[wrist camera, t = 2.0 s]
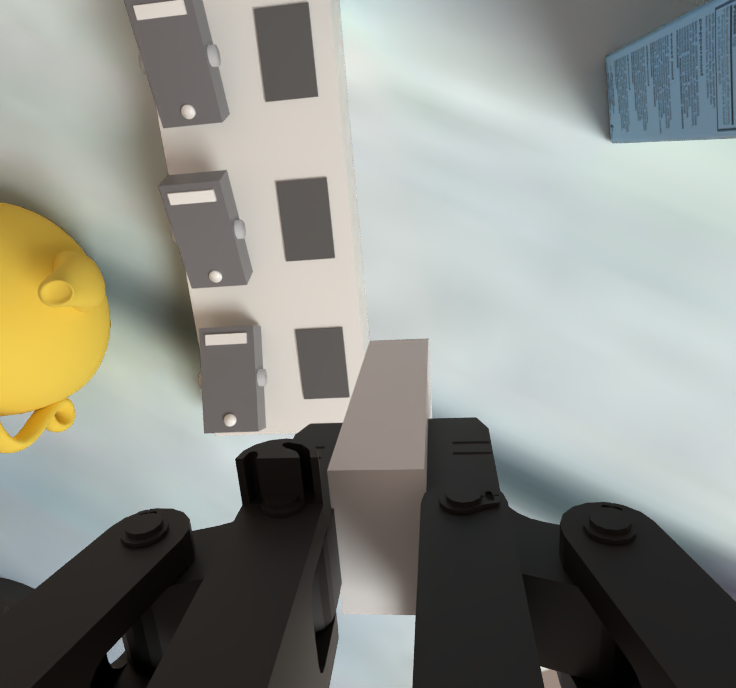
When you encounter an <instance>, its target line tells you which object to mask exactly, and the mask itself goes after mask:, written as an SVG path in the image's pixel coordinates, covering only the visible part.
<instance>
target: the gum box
mask: <svg viewBox="0 0 736 688" xmlns="http://www.w3.org/2000/svg"><path fill="white" fill-rule="evenodd" d="M605 59H606V72H607V86H608V100H609V117H610V135H611V142H612V143H635V142H657V141H683V140H708V139H731V138H736V0H709V1H708V2H706V3H704V4H702V5H700V6H698V7H696V8H694V9H692V10H690V11H689V12H687V13H685V14H684V15H682V16H680V17H678V18H676V19H674V20H672V21H670V22H669V23H667V24H665V25H663V26H661V27H659V28H657V29H655V30H653V31H652V32H650V33H648V34H646V35H644V36H642V37H640V38H639V39H637V40H635V41H633V42H631V43H629V44H627V45H625V46H623V47H621V48H619V49H617V50H615V51H613V52H610V53H608V54H607V55H606V58H605Z"/></svg>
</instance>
